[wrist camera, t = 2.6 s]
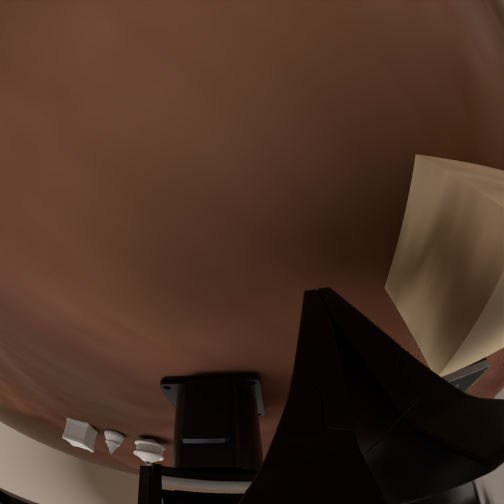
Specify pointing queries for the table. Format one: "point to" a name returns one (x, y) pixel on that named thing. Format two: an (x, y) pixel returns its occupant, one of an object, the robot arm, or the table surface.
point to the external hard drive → (467, 374)
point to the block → (451, 262)
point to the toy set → (110, 441)
